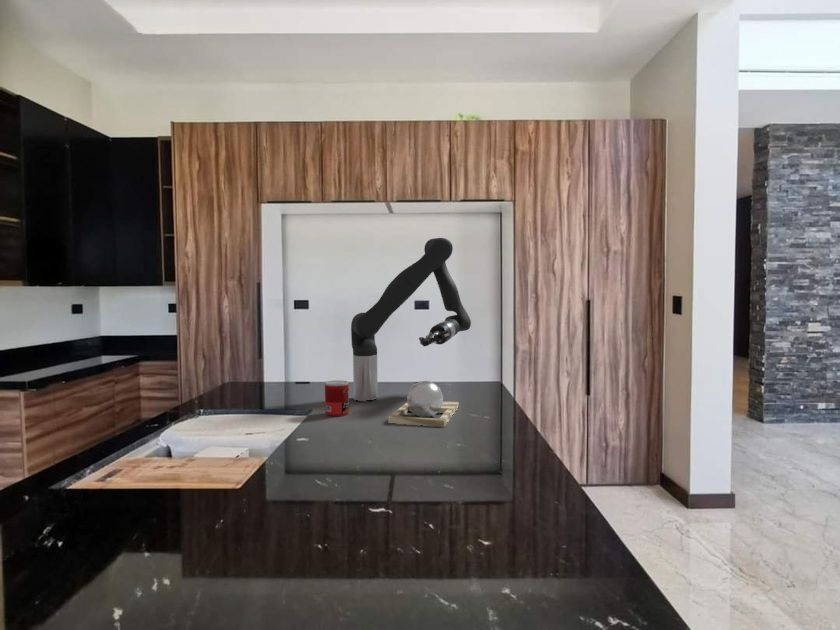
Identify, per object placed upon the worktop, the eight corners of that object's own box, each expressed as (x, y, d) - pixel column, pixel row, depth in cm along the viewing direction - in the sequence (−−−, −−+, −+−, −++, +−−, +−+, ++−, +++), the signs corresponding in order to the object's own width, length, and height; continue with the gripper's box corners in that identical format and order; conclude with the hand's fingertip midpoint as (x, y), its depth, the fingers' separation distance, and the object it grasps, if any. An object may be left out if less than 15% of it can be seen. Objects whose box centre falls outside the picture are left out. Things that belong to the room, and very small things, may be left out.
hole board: (410, 404, 189) (410, 399, 189) (458, 407, 185) (458, 402, 185) (388, 423, 164) (388, 417, 164) (444, 427, 160) (444, 420, 159)
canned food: (347, 417, 172) (346, 384, 172) (323, 417, 172) (322, 384, 172) (350, 411, 180) (350, 380, 179) (327, 411, 180) (327, 380, 179)
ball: (404, 390, 179) (395, 405, 168) (427, 368, 175) (420, 382, 164) (429, 413, 180) (422, 430, 169) (452, 392, 176) (447, 408, 164)
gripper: (425, 326, 201) (405, 337, 186) (455, 319, 195) (437, 329, 180) (430, 345, 202) (411, 357, 187) (460, 337, 196) (443, 349, 181)
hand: (424, 343), depth 183 cm, fingers closed
